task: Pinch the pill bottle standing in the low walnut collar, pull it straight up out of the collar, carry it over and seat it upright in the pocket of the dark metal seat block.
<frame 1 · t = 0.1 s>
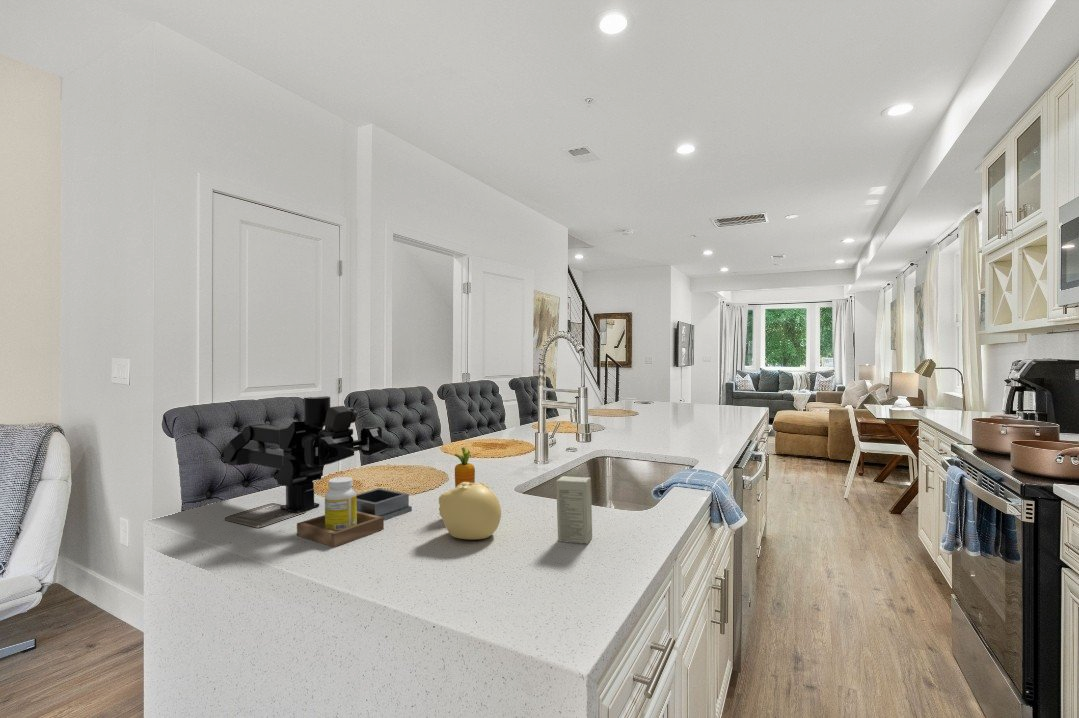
hand: (371, 449, 114), 17 cm above the table, tool horizontal, fingers open, 9 cm apart
pill bottle: (341, 533, 111), resting in walnut collar
sculpture: (471, 536, 109), on the table
skincare box: (574, 540, 106), on the table
dark metal seat block: (377, 512, 124), on the table
carrot: (464, 513, 124), on the table
walnut collar: (341, 532, 111), on the table
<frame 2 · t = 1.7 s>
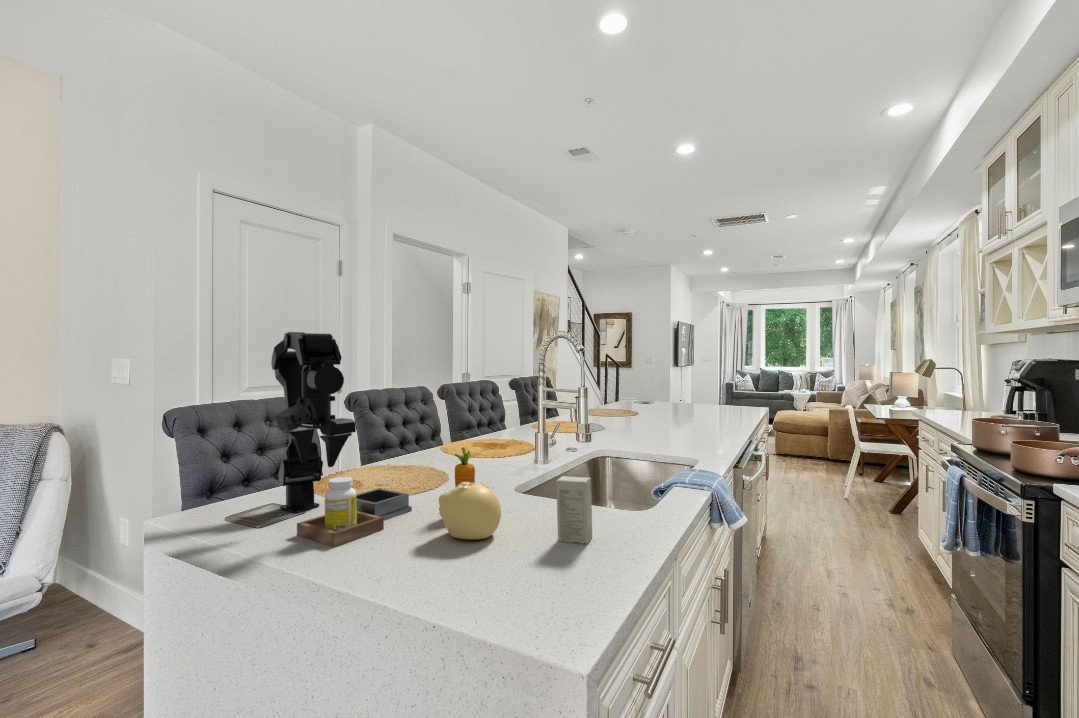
hand: (317, 464, 114), 13 cm above the table, tool pointing down, fingers open, 9 cm apart
nothing on the table moved.
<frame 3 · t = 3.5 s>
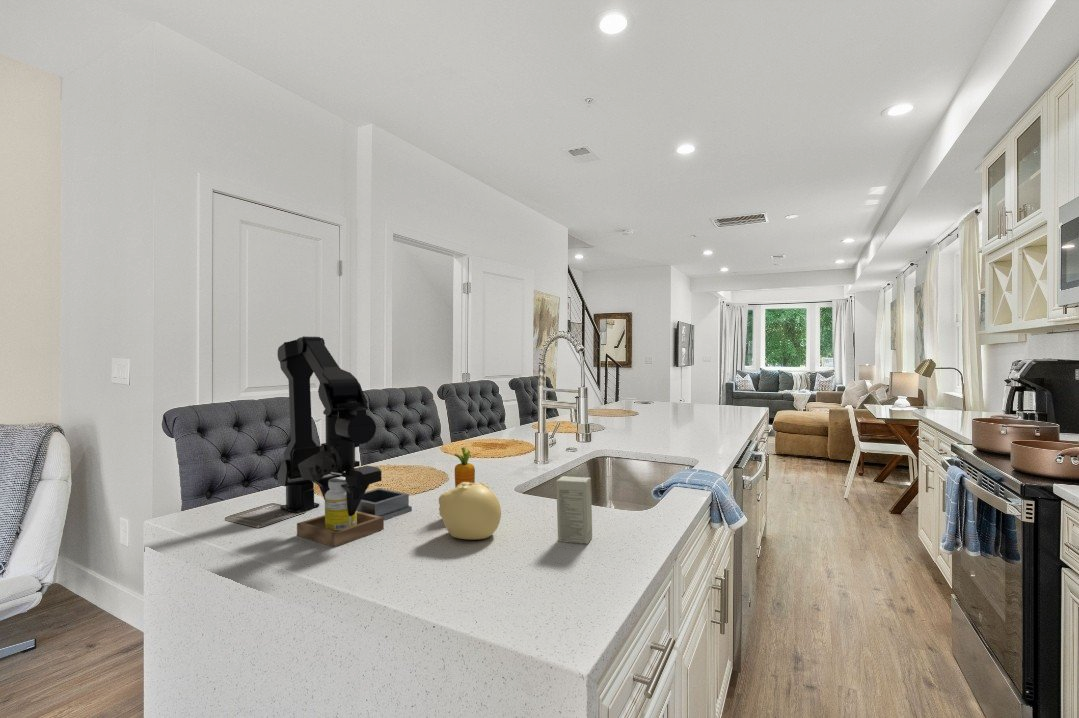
hand: (340, 512, 111), 4 cm above the table, tool pointing down, fingers closed on pill bottle, 6 cm apart
pill bottle: (341, 533, 111), resting in walnut collar, touching gripper
everything else where it was.
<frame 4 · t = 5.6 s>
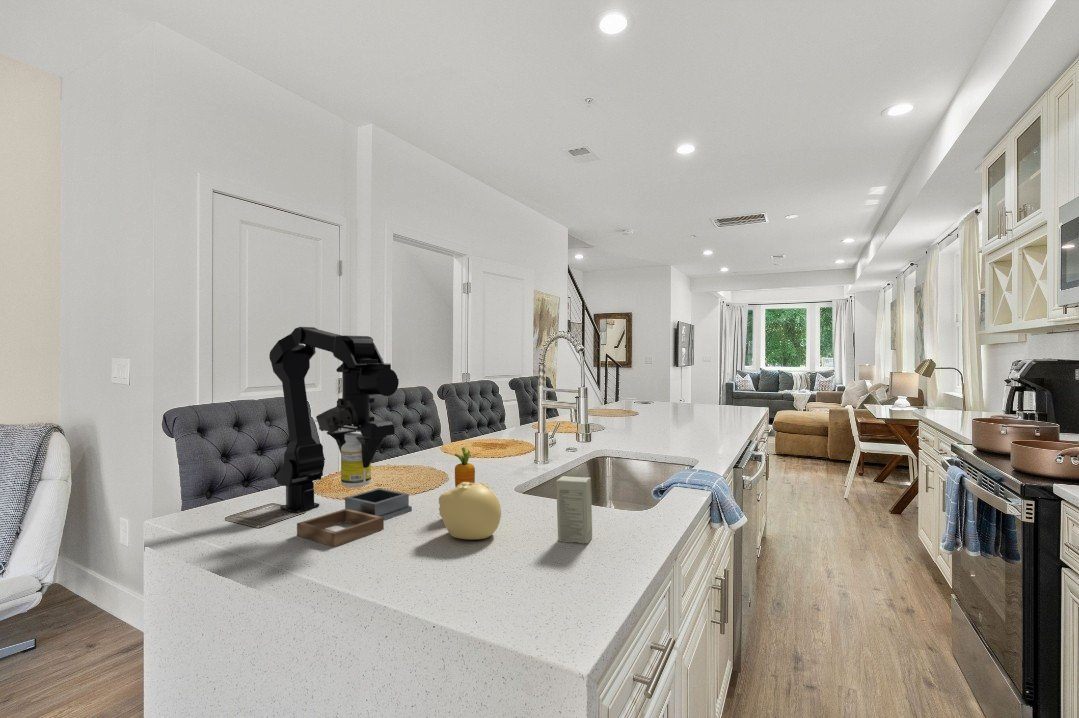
hand: (356, 465, 116), 13 cm above the table, tool pointing down, fingers closed on pill bottle, 6 cm apart
pill bottle: (356, 484, 116), point 8 cm above the table, touching gripper
everything else where it was.
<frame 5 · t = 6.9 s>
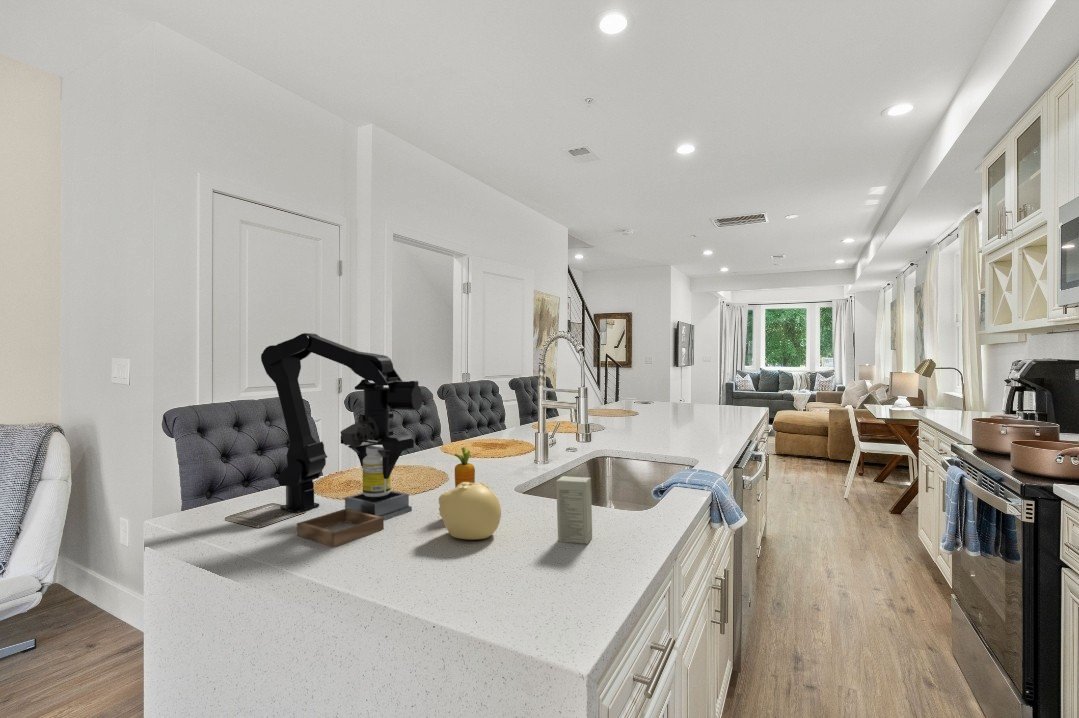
hand: (376, 476, 124), 8 cm above the table, tool pointing down, fingers closed on pill bottle, 6 cm apart
pill bottle: (376, 494, 124), point 4 cm above the table, touching gripper
everything else where it was.
when the fingers open (6 cm above the table, at t = 7.7 s): pill bottle drops 1 cm, resting on dark metal seat block.
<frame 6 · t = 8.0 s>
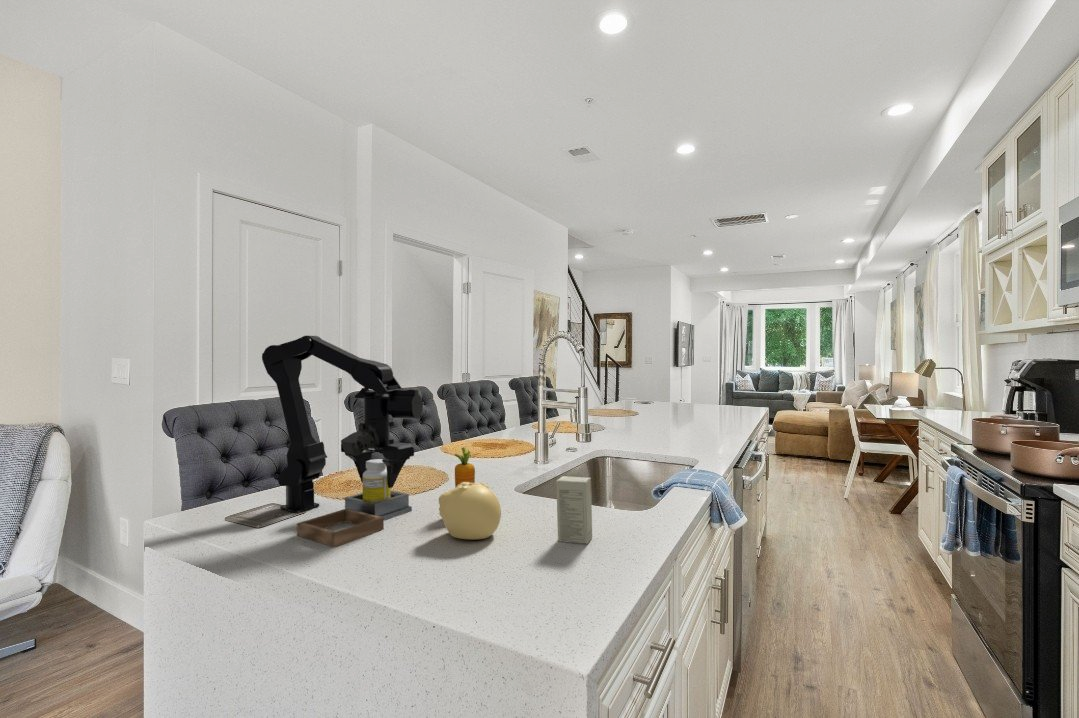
hand: (377, 485, 124), 6 cm above the table, tool pointing down, fingers open, 9 cm apart
pill bottle: (376, 509, 124), point 1 cm above the table, touching dark metal seat block
everything else where it was.
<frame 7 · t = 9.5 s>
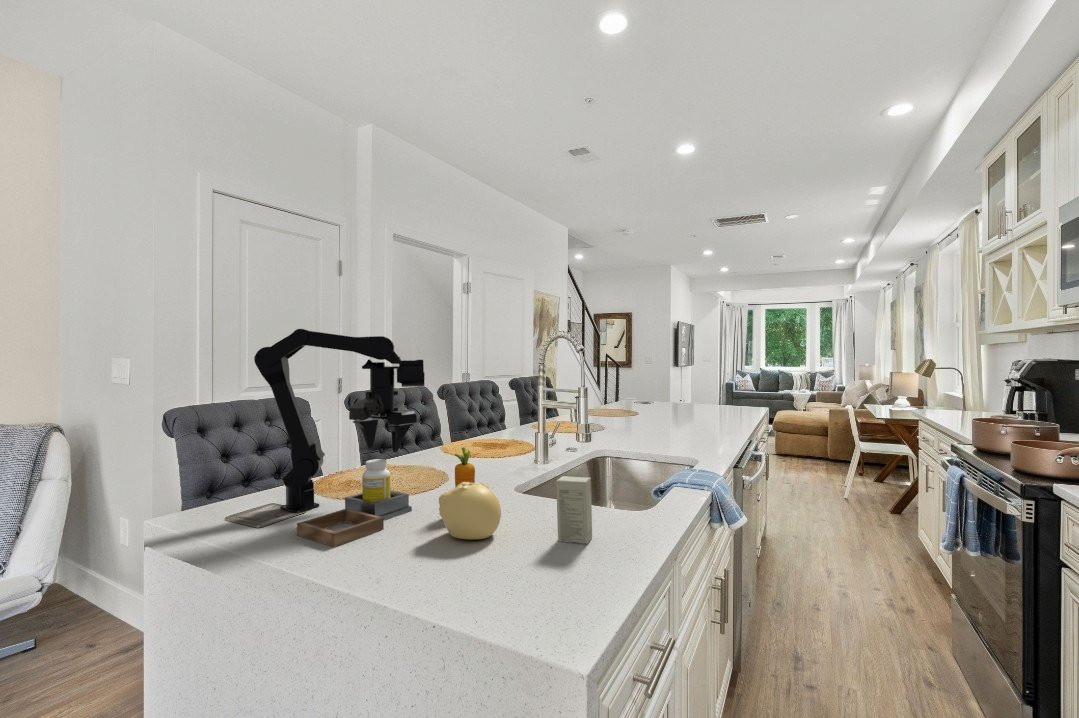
hand: (382, 450, 132), 13 cm above the table, tool pointing down, fingers open, 9 cm apart
nothing on the table moved.
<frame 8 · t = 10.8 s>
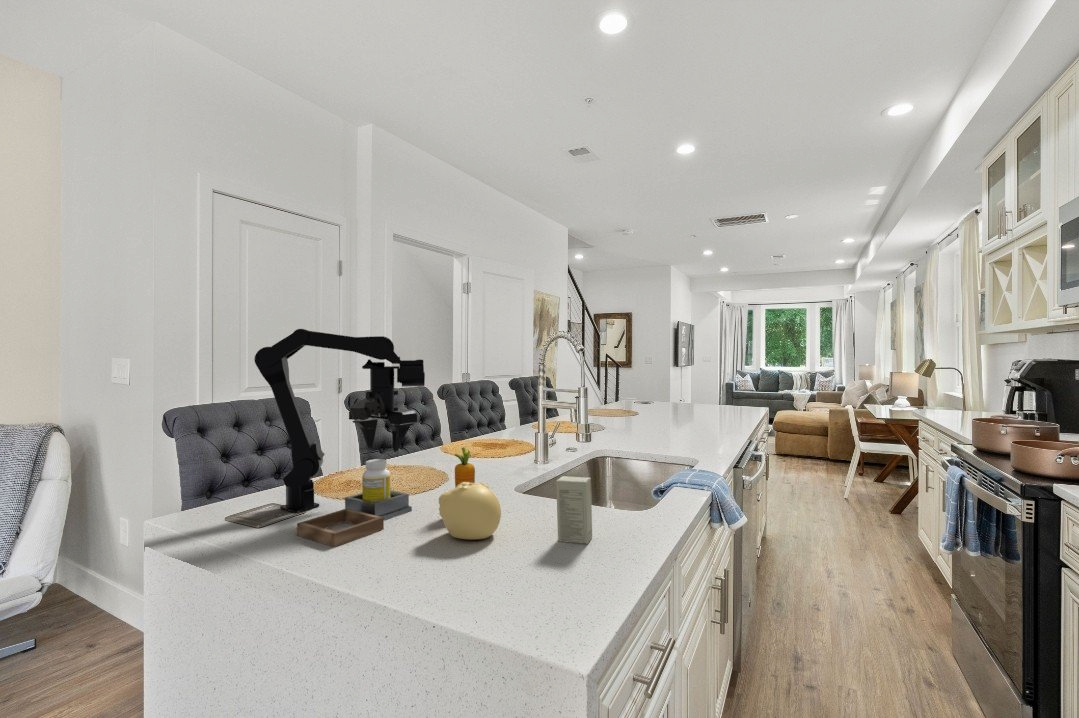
hand: (382, 449, 133), 13 cm above the table, tool pointing down, fingers open, 9 cm apart
nothing on the table moved.
at the end: pill bottle 0.2 cm off-centre on the dark metal seat block, point 0.8 cm above the dark metal seat block's base; pill bottle tilted 0°; the gripper is holding nothing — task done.
